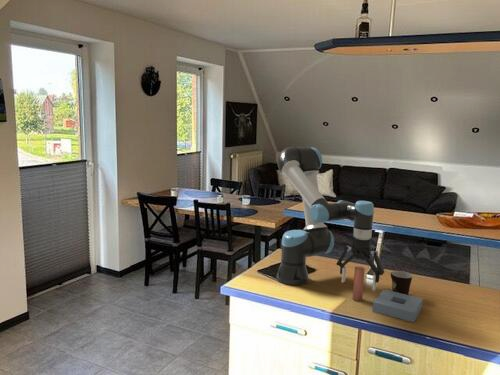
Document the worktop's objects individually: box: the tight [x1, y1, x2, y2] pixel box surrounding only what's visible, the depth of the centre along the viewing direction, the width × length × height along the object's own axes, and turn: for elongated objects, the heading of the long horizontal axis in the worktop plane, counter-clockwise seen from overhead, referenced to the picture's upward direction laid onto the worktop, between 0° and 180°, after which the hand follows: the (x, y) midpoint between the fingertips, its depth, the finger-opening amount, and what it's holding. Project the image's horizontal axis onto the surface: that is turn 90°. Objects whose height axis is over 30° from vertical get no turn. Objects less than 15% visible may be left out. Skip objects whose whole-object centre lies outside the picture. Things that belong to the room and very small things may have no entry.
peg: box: [352, 266, 366, 302], centre depth 181 cm, size 4×4×14 cm
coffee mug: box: [390, 270, 413, 295], centre depth 187 cm, size 12×9×10 cm
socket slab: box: [372, 288, 424, 323], centre depth 173 cm, size 16×16×4 cm
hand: (358, 285), depth 181 cm, fingers open, 13 cm apart
